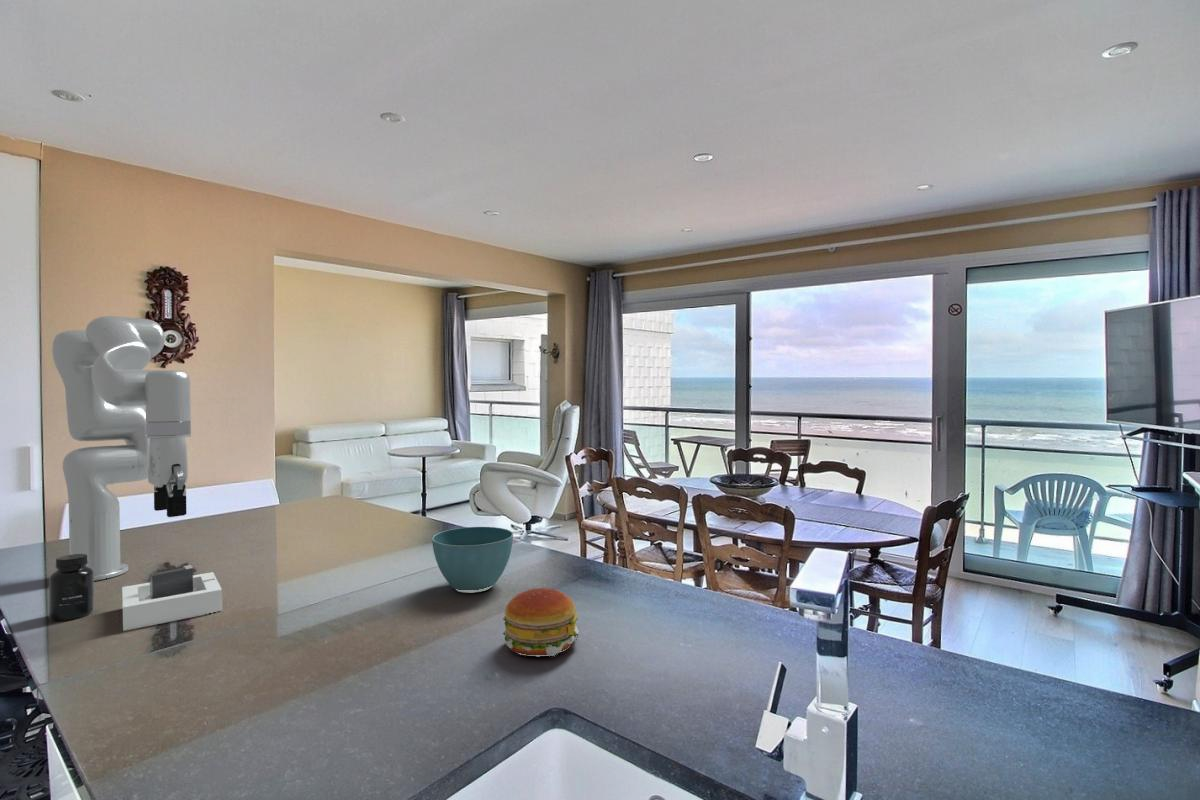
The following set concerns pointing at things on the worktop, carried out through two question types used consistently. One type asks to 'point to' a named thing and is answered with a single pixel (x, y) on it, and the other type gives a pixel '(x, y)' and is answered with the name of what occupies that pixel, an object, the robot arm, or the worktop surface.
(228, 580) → the worktop surface
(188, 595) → the dial housing
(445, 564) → the teal bowl
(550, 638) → the burger
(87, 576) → the supplement bottle
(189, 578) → the dial
